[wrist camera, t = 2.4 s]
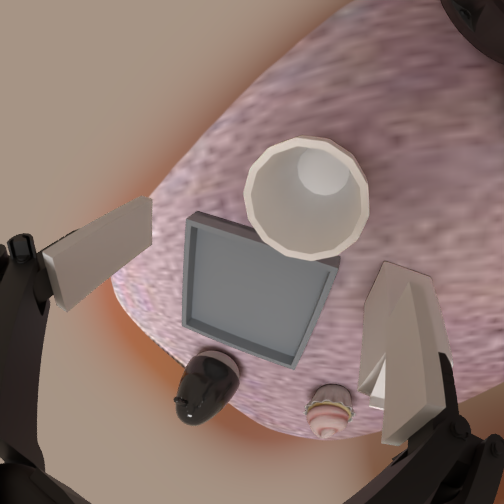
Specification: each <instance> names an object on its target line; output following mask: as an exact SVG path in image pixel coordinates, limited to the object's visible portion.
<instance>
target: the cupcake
mask: <svg viewBox="0 0 504 504" xmlns="http://www.w3.org/2000/svg"><path fill="white" fill-rule="evenodd" d="M305 409H306V410H305V411H304V412H303V413H304V414H305V415H307V421H308V423H309V425H310V428H311V430H312V431H313V433H314V434H315V435H317V436H318V437H319V438H329V437H331V436H333V435H334V434H335V433H337V432H340V431H342V430H344V429H345V428H346V426H347V424H348V422H351V421H352V417H353V416H355V415H356V414H355V412H354V410H353V408H352V404H351V398H350V393H349V391H348V390H347V389H346V388H344V387H342V386H339V385H325V386H322V387H321V388H319V389H318V390H317V392H316V394H315V396H314V397H313V399H312V400H311V401H310V402H309V403H308V404H307V405H305Z"/></svg>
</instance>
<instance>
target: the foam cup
mask: <svg viewBox="0 0 504 504" xmlns="http://www.w3.org/2000/svg"><path fill="white" fill-rule="evenodd" d="M243 195H244V200H245V206H246V211H247V216H248V220H249V221H250V223H251V224H252V226H253V227H254V229H255V230H256V232H257V233H258V234H259V236H260V237H261V239H262V240H263V241H264V242H265V243H267V244H268V245H270V246H271V247H273V248H274V249H276V250H277V251H279V252H280V253H282V254H283V255H285V256H288V257H293V258H298V259H303V260H308V261H315V260H319V259H324V258H329V257H333V256H337V255H339V254H340V253H341V252H343V251H344V250H345V249H346V248H348V247H349V246H350V245H352V244H353V243H354V242H356V241H357V240H358V239H359V236H360V234H361V232H362V230H363V228H364V226H365V224H366V222H367V219H368V217H369V215H370V214H369V192H368V182H367V178H366V176H365V174H364V172H363V171H362V169H361V167H360V165H359V164H358V162H357V160H356V159H355V157H354V155H353V154H352V153H350V152H349V151H347V150H346V149H344V148H343V147H341V146H340V145H338V144H337V143H335V142H334V141H332V140H331V139H328V138H321V137H313V136H305V135H301V136H298V137H295V138H292V139H289V140H286V141H283V142H281V143H278V144H275V145H273V146H271V147H269V148H268V149H267V150H266V151H265V152H264V153H263V154H262V155H261V156H260V157H259V158H258V159H257V161H256V162H255V163H254V164H253V165H252V166H251V167H250V169H249V173H248V177H247V181H246V184H245V188H244V192H243Z"/></svg>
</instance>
